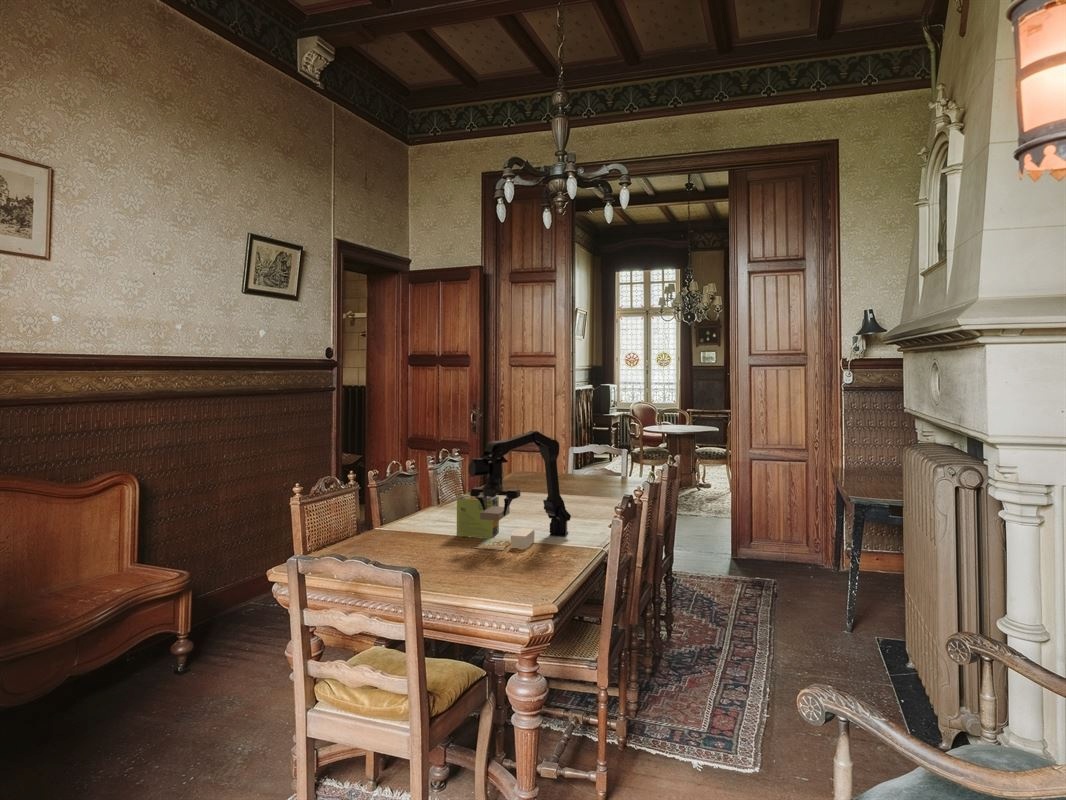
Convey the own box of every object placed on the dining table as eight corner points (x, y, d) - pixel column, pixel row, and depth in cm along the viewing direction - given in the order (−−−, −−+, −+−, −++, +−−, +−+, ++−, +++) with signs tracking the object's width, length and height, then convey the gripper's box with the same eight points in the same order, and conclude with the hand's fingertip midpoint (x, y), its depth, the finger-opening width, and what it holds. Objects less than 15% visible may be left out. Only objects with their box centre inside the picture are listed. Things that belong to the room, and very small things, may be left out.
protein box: (493, 538, 267) (493, 499, 267) (456, 536, 270) (456, 498, 270) (499, 532, 278) (499, 495, 277) (464, 530, 281) (463, 494, 280)
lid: (509, 513, 262) (509, 507, 262) (499, 520, 250) (498, 513, 249) (491, 512, 264) (491, 506, 264) (480, 519, 251) (480, 512, 251)
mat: (514, 540, 264) (514, 539, 264) (502, 550, 248) (502, 549, 248) (488, 538, 267) (488, 537, 267) (474, 548, 251) (474, 547, 251)
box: (534, 542, 262) (534, 529, 261) (525, 549, 250) (525, 536, 250) (519, 541, 263) (519, 528, 263) (510, 548, 252) (510, 535, 251)
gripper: (464, 476, 251) (464, 517, 252) (512, 478, 246) (512, 520, 247) (475, 472, 262) (475, 512, 262) (520, 474, 257) (520, 514, 258)
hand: (495, 515), depth 257 cm, fingers closed on lid, 7 cm apart
